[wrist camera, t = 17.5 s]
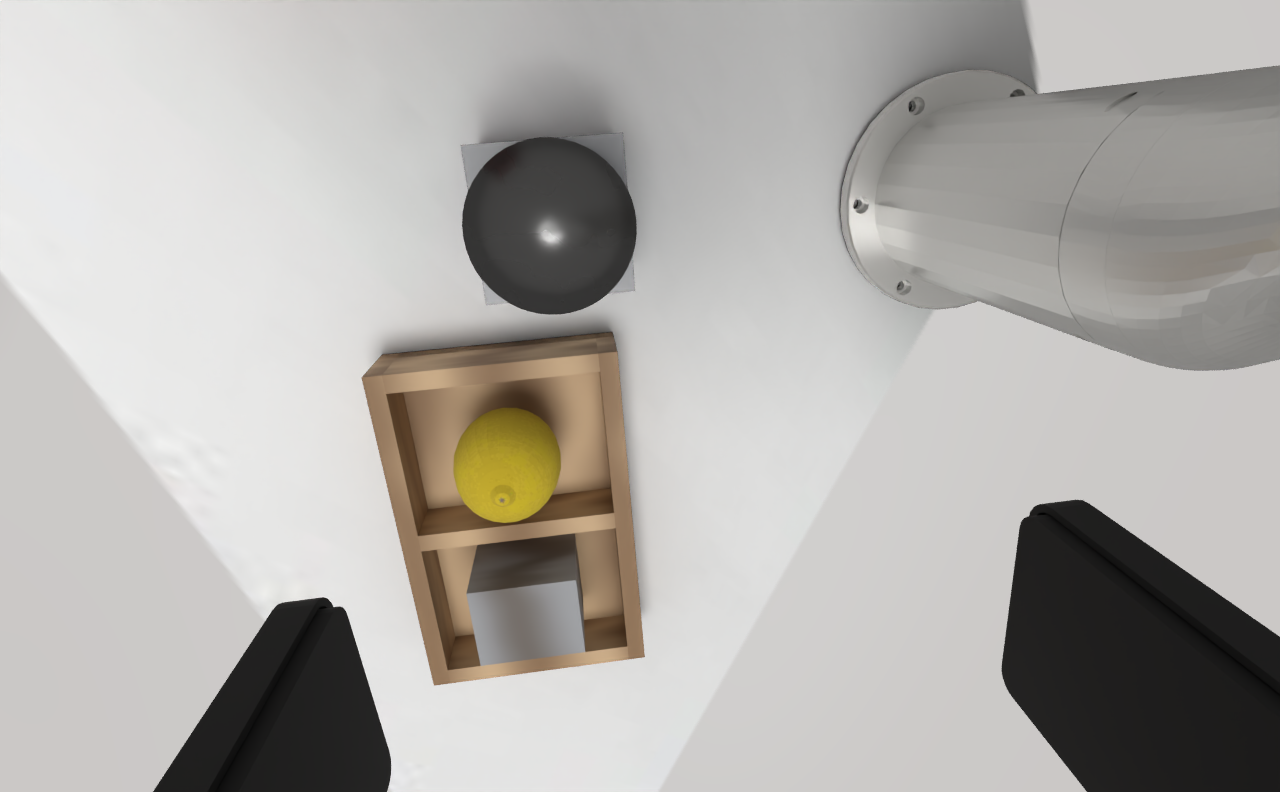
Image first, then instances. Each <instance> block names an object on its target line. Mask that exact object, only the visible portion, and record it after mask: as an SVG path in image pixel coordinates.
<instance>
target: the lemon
mask: <svg viewBox="0 0 1280 792" xmlns="http://www.w3.org/2000/svg"><path fill="white" fill-rule="evenodd" d="M560 471H561V453H560V449H559V445H558V442H557V439H556V437H555V435H554V433H553V432H552V430H551V429H550V427H549V426H548V425H547V424H546V423H545V422H544V421H543V420H542V419H541V418H540V417H539V416H537V415H535V414H533V413H531V412H529V411H527V410H523V409H519V408H500V409H495V410H491V411H489V412H487V413H485V414H483V415H481V416H479V417H478V418H477V419H476V420H475V421H473V422H472V423H471V424H470V425H469V426H468V427H467V429H466V430H465V432H464V433H463V435H462V436H461V438H460V439H459V442H458V445H457V448H456V451H455V454H454V467H453V474H454V479H455V483H456V487H457V490H458V493H459V494H460V496H461V498H462V500H463V502H464V503H465V504H466V505H467V506H468V507H469V508H470V509H471V510H472V511H473V512H474V513H476V514H477V515H479V516H480V517H482V518H484V519H487V520H490V521H493V522H501V523H508V522H517V521H520V520H523V519H526V518H528V517H530V516H531V515H533V514H534V513H536V512H538V511H539V510H540V509H541V508H542V507H543V506H544V505H545V504H546V503H547V501H548V500H549V498H550V497H551V495H552V493H553V491H554V490H555V488H556V486H557V483H558V479H559V475H560Z"/></svg>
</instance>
